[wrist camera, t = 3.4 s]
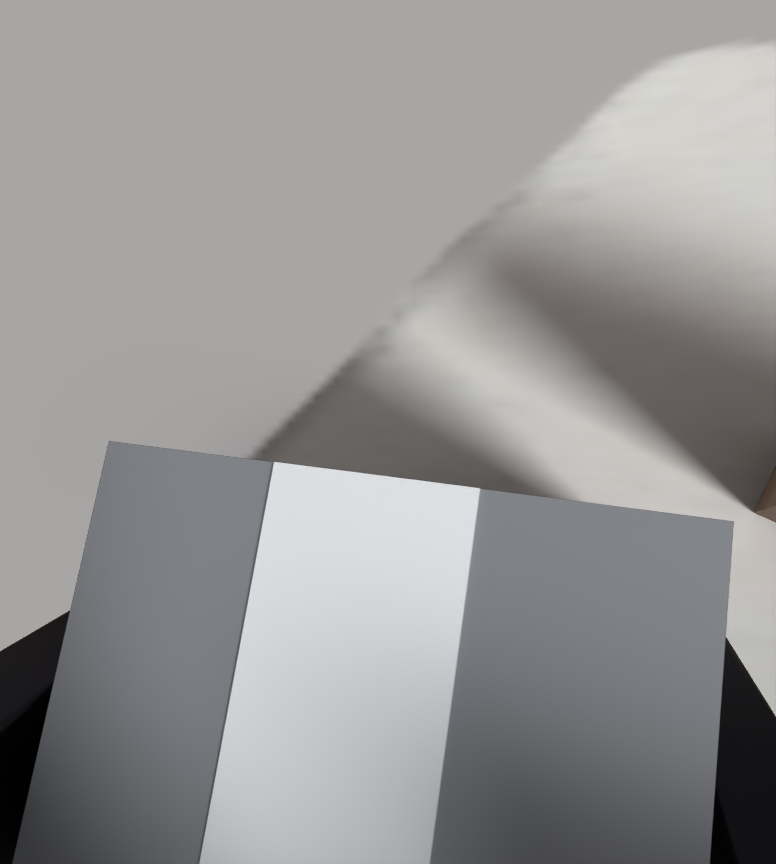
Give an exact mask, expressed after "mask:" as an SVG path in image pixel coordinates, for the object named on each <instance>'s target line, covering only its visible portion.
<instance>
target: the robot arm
mask: <svg viewBox="0 0 776 864" xmlns="http://www.w3.org/2000/svg"><path fill="white" fill-rule="evenodd" d="M69 613H70V611H68V612H67V613H65V614H63V615H61V616H60V617H58V618H56V619H55V620H53V621H51V622H49V623H48V624H46V625H44V626H43V627H41V628H40V629H38V630H36V631H34V632H32V633H31V634H29V635H27V636H26V637H24V638H22V639H20V640H19V641H17V642H15V643H14V644H12V645H10V646H9V647H7V648H5V649H3V650H2V651H0V864H12V863H13V858H14V854H15V849H16V845H17V841H18V836H19V832H20V828H21V823H22V819H23V814H24V810H25V806H26V801H27V797H28V793H29V788H30V784H31V780H32V775H33V771H34V766H35V762H36V758H37V753H38V749H39V745H40V740H41V736H42V731H43V727H44V723H45V718H46V714H47V710H48V705H49V701H50V696H51V692H52V688H53V683H54V679H55V675H56V670H57V666H58V661H59V657H60V653H61V648H62V644H63V640H64V635H65V631H66V626H67V622H68V618H69ZM710 864H776V716H775V714H774V713H773V711H772V710H771V708H770V706H769V705H768V703H767V702H766V700H765V698H764V697H763V695H762V694H761V692H760V691H759V689H758V687H757V686H756V684H755V683H754V681H753V679H752V678H751V676H750V675H749V673H748V671H747V670H746V668H745V667H744V665H743V663H742V662H741V660H740V659H739V657H738V655H737V654H736V652H735V651H734V649H733V647H732V646H731V644H730V643H729V641H728V639H727V638H726V639H725V653H724V668H723V682H722V696H721V710H720V725H719V739H718V753H717V767H716V781H715V796H714V810H713V824H712V838H711V853H710Z"/></svg>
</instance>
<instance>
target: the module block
mask: <svg viewBox="0 0 776 864" xmlns="http://www.w3.org/2000/svg"><path fill="white" fill-rule="evenodd" d="M733 525H734V521H727V520H719V519H711V518H703V517H695V516H688V515H680V514H672V513H664V512H657V511H649V510H641V509H633V508H626V507H618V506H610V505H602V504H594V503H587V502H579V501H571V500H563V499H556V498H548V497H540V496H532V495H524V494H517V493H509V492H501V491H493V490H486V489H480V488H474V487H467V486H459V485H451V484H443V483H435V482H428V481H420V480H412V479H404V478H396V477H389V476H381V475H373V474H365V473H357V472H350V471H342V470H334V469H326V468H319V467H311V466H303V465H295V464H287V463H280V462H268V461H260V460H252V459H245V458H237V457H229V456H220V455H213V454H206V453H198V452H190V451H182V450H174V449H166V448H158V447H151V446H143V445H135V444H128V443H120V442H112V441H109V443H108V447H107V452H106V456H105V460H104V465H103V470H102V474H101V478H100V482H99V487H98V491H97V495H96V500H95V504H94V508H93V513H92V517H91V522H90V526H89V531H88V535H87V539H86V543H85V548H84V552H83V557H82V561H81V565H80V570H79V574H78V578H77V583H76V587H75V592H74V596H73V601H72V605H71V609H70V613H69V618H68V622H67V626H66V631H65V635H64V640H63V644H62V648H61V653H60V657H59V661H58V666H57V670H56V675H55V679H54V683H53V688H52V692H51V696H50V701H49V705H48V710H47V714H46V718H45V723H44V727H43V731H42V736H41V740H40V745H39V749H38V753H37V758H36V762H35V766H34V771H33V775H32V780H31V784H30V788H29V793H28V797H27V801H26V806H25V810H24V814H23V819H22V823H21V828H20V832H19V836H18V841H17V845H16V849H15V854H14V858H13V863H12V864H710V853H711V838H712V824H713V810H714V796H715V781H716V767H717V753H718V739H719V725H720V710H721V696H722V682H723V668H724V653H725V639H726V625H727V611H728V597H729V582H730V568H731V554H732V540H733Z"/></svg>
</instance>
